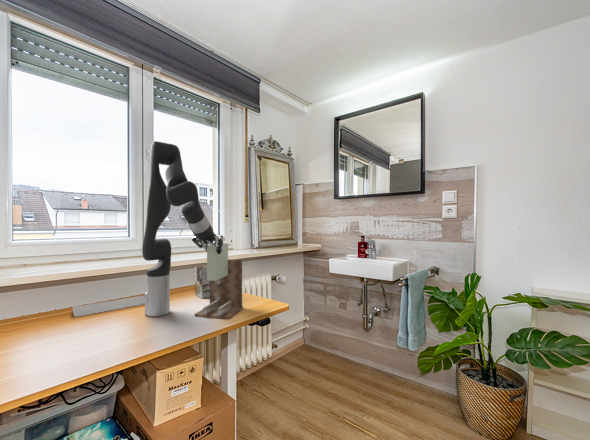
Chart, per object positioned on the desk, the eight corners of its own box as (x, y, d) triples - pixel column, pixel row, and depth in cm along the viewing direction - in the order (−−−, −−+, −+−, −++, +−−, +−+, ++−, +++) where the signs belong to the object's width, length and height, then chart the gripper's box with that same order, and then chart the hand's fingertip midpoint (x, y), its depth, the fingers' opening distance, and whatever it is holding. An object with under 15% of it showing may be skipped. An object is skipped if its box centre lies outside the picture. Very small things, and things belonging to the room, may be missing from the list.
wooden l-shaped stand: (194, 316, 123) (194, 263, 123) (211, 305, 138) (211, 258, 138) (228, 319, 120) (228, 264, 120) (242, 308, 134) (242, 259, 134)
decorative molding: (72, 318, 129) (74, 318, 122) (72, 307, 130) (74, 306, 123) (153, 303, 152) (159, 302, 145) (153, 294, 153) (158, 293, 146)
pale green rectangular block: (205, 280, 122) (205, 245, 122) (218, 274, 133) (218, 243, 133) (215, 280, 121) (215, 245, 121) (228, 275, 132) (228, 243, 132)
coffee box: (213, 296, 154) (213, 266, 154) (202, 298, 150) (201, 268, 150) (205, 293, 161) (205, 264, 161) (194, 295, 156) (194, 266, 156)
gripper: (219, 218, 114) (232, 246, 126) (188, 218, 117) (203, 245, 129) (213, 232, 109) (227, 260, 120) (180, 232, 112) (197, 259, 123)
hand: (215, 252), depth 124 cm, fingers closed on pale green rectangular block, 4 cm apart
